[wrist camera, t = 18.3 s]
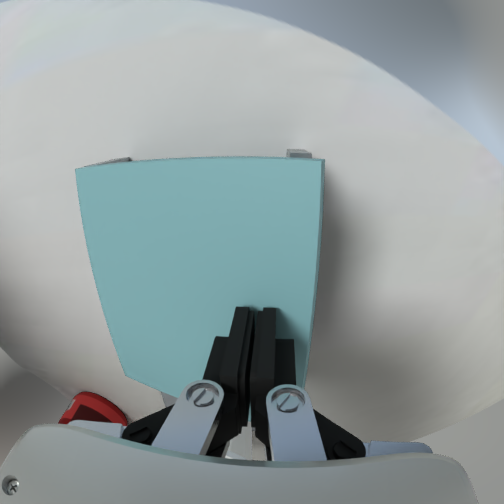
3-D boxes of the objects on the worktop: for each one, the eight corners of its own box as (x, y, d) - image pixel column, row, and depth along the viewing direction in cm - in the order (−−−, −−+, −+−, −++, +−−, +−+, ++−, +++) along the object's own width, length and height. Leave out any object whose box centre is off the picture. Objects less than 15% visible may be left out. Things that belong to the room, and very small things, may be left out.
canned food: (88, 420, 30) (57, 479, 20) (67, 382, 27) (25, 447, 17) (136, 435, 30) (110, 502, 20) (119, 398, 27) (81, 476, 17)
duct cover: (133, 367, 19) (125, 375, 18) (89, 165, 14) (75, 169, 13) (298, 419, 15) (294, 432, 14) (324, 159, 10) (321, 161, 9)
